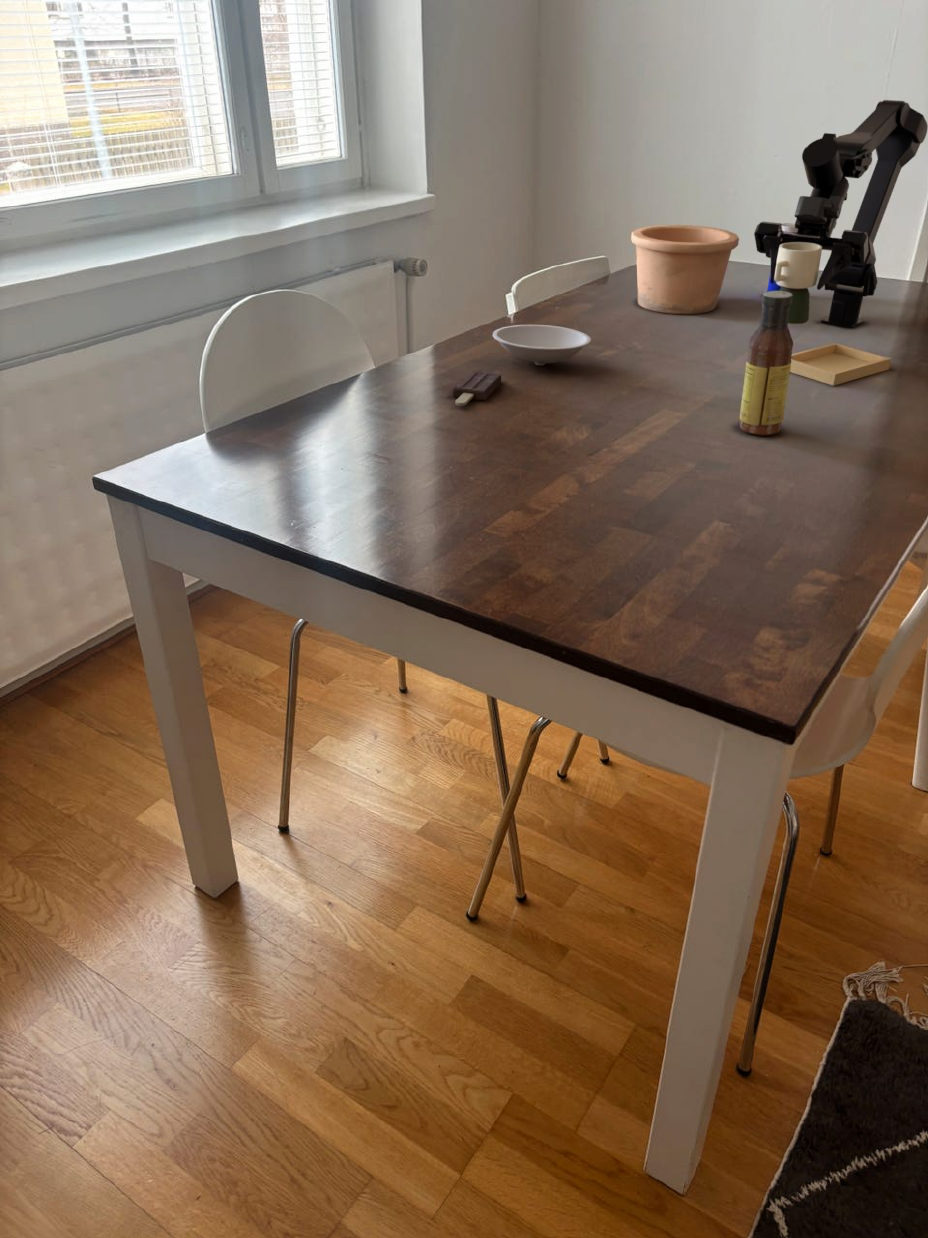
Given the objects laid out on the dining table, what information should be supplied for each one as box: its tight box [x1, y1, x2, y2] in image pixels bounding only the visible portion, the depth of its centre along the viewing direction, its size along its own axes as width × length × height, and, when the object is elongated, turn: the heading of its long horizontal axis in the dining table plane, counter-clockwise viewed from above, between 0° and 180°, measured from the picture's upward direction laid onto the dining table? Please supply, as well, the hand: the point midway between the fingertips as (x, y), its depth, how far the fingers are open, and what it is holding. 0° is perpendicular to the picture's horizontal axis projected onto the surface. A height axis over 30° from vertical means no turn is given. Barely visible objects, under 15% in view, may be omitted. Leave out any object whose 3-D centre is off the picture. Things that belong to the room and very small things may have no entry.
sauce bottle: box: [739, 291, 794, 436], centre depth 138 cm, size 6×6×20 cm
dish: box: [492, 324, 592, 366], centre depth 168 cm, size 18×14×5 cm
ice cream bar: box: [452, 369, 502, 407], centre depth 155 cm, size 5×2×15 cm
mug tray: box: [790, 342, 892, 387], centre depth 168 cm, size 12×16×2 cm
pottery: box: [630, 224, 740, 315], centre depth 202 cm, size 22×22×14 cm
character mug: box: [774, 242, 823, 325], centre depth 166 cm, size 11×7×13 cm, turn 124°
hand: (794, 285), depth 165 cm, fingers closed on character mug, 8 cm apart
